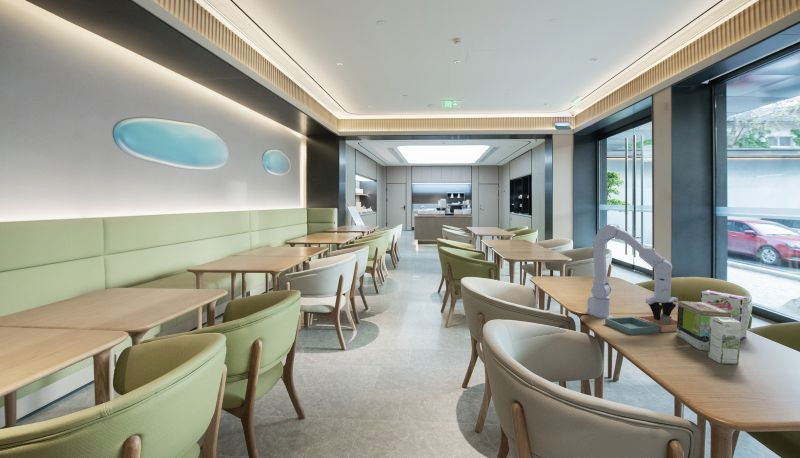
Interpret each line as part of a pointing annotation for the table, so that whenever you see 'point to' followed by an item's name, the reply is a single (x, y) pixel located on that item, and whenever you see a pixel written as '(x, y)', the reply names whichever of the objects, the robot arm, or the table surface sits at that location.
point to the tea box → (697, 322)
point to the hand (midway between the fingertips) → (661, 319)
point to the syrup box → (724, 340)
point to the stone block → (663, 320)
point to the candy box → (729, 306)
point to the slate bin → (631, 325)
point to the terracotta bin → (661, 328)
